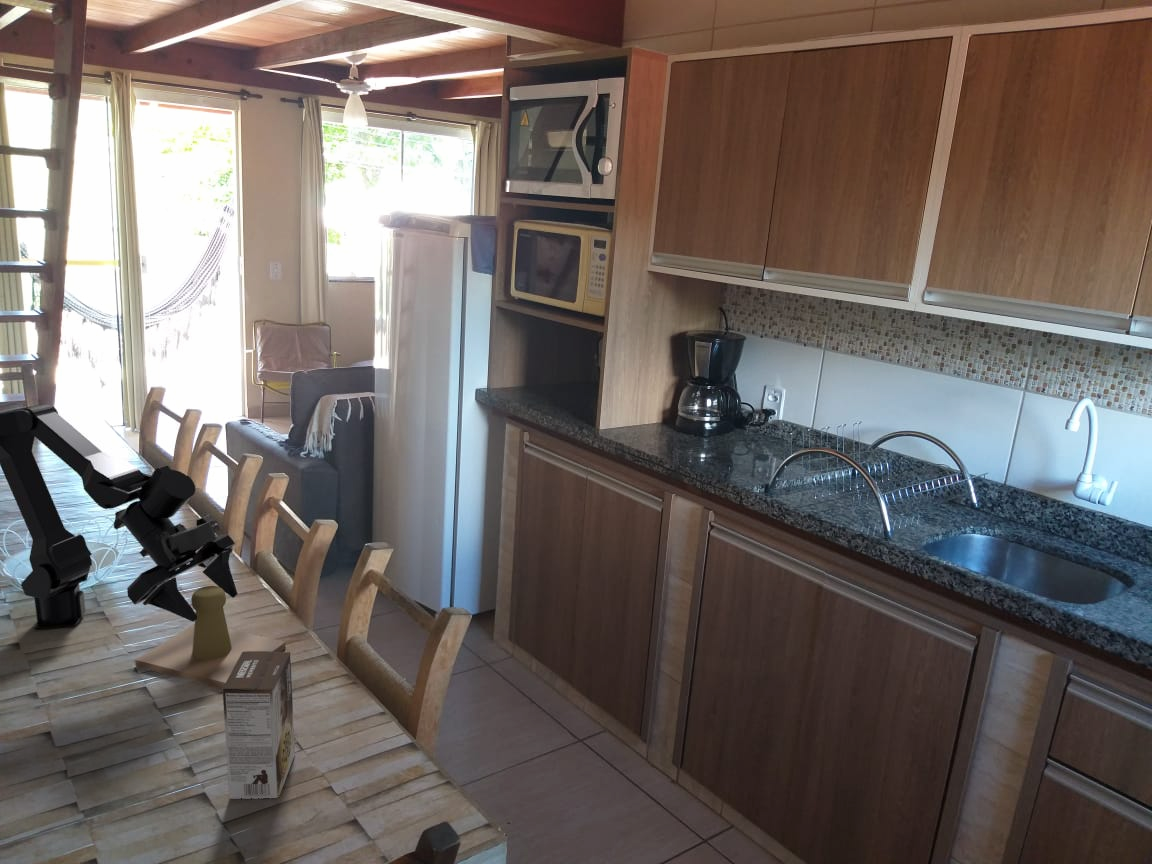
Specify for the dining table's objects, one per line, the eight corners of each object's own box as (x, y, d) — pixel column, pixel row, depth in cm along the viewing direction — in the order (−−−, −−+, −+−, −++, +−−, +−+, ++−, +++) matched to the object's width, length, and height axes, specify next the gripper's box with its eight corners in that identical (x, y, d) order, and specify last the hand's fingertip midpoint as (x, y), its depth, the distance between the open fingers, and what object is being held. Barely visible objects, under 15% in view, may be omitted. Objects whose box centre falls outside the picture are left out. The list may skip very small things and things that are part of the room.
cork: (203, 664, 134) (199, 601, 131) (185, 650, 138) (180, 589, 135) (238, 650, 138) (235, 589, 136) (220, 637, 142) (216, 578, 139)
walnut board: (135, 666, 134) (135, 659, 134) (198, 627, 147) (198, 621, 147) (228, 690, 129) (228, 683, 129) (285, 648, 142) (285, 641, 142)
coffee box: (248, 755, 115) (242, 649, 111) (296, 754, 115) (292, 649, 111) (227, 800, 106) (219, 687, 102) (279, 800, 106) (274, 687, 102)
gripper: (135, 524, 124) (201, 606, 124) (223, 488, 141) (281, 559, 141) (99, 564, 128) (162, 643, 128) (188, 524, 146) (244, 594, 145)
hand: (216, 607), depth 136 cm, fingers open, 9 cm apart
